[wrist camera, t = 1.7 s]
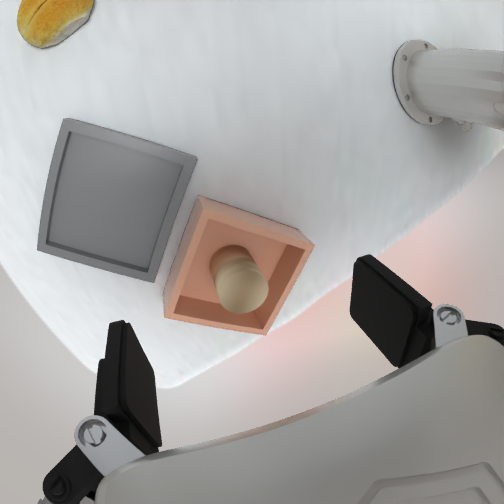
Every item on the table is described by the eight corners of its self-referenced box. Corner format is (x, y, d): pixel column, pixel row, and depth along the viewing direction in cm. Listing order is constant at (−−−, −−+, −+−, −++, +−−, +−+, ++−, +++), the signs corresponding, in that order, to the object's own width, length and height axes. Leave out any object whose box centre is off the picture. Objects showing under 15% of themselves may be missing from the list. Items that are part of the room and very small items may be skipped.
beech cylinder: (258, 251, 34) (276, 277, 29) (242, 286, 36) (256, 317, 31) (218, 239, 32) (230, 265, 27) (203, 277, 34) (211, 308, 29)
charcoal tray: (195, 156, 28) (197, 159, 27) (154, 274, 33) (154, 282, 31) (69, 118, 22) (63, 118, 21) (42, 243, 27) (36, 250, 25)
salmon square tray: (297, 229, 35) (314, 245, 31) (255, 313, 39) (265, 335, 35) (197, 195, 30) (203, 208, 26) (162, 294, 34) (164, 317, 30)
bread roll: (73, -34, 14) (64, -48, 10) (106, 10, 19) (99, -3, 15) (12, 15, 14) (-3, 7, 11) (41, 62, 19) (25, 57, 15)
